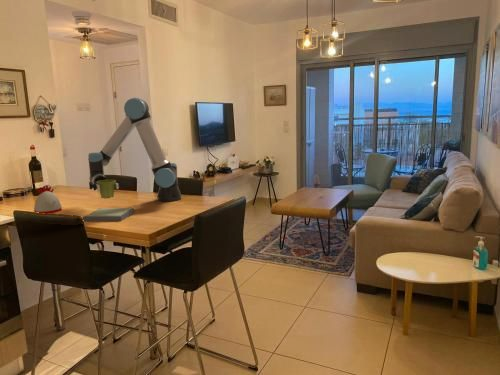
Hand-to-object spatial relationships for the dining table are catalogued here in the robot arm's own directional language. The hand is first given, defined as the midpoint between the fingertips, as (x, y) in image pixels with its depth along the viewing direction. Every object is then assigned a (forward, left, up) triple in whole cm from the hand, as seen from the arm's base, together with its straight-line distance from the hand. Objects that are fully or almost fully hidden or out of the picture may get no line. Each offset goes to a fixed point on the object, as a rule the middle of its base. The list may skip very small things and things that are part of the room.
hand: (108, 187), depth 189 cm
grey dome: (+44, -17, -17) cm, 50 cm away
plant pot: (+3, -4, -6) cm, 8 cm away
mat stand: (+2, -4, -16) cm, 17 cm away
